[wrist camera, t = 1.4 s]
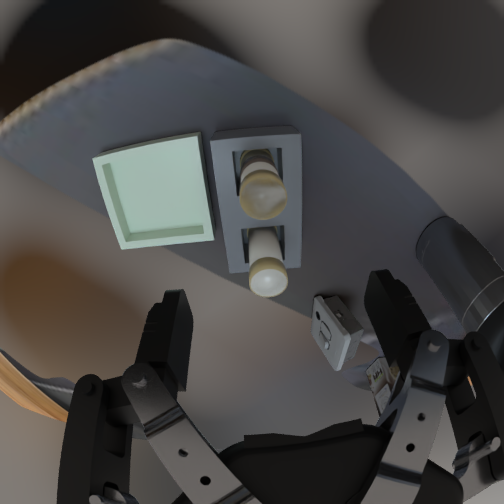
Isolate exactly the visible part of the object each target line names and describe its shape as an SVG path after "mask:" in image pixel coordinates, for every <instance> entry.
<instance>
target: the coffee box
mask: <svg viewBox="0 0 504 504" xmlns="http://www.w3.org/2000/svg"><path fill="white" fill-rule="evenodd" d="M399 371H400V370H399V367H398V366H395V367H391V368H389V366H388V363H387V361H386V358H385V357H383V358H378V359H377V360H376V361H375V362H374V363H373V364H372V365H371V366H370V367H369V368H368V369H367V370H366V374H367V377H368V380H369V383H370V386H371V390H372V393H373V396H374V399H375V403H376V406H377V410H378V413H379V417H380V416H381V414H382V413H383V411H384V409H385V407H386V404H387V402H388V399H389V397H390V394H391V391H392V389H393V386H394V383H395V380H396V377H397V375H398V372H399Z"/></svg>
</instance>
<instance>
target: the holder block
mask: <svg viewBox="0 0 504 504" xmlns="http://www.w3.org/2000/svg"><path fill="white" fill-rule="evenodd" d="M210 145H211V153H212V160H213V167H214V174H215V181H216V188H217V195H218V201H219V208H220V215H221V221H222V228H223V234H224V240H225V246H226V252H227V259H228V265H229V271H230V273H241V272H249V268H250V265H249V244H248V236H247V228H257V227H269V226H276V227H277V236H278V241H279V245H280V250H281V255H282V259H283V264H284V265H285V268H297V267H301V241H302V143H301V133H299V132H298V131H297V130H296V129H295V128H294V127H292V126H272V127H257V128H245V129H234V130H225V131H217V132H215V133H214V135H213V136H212V138H211V140H210ZM254 149H268V150H269V151H270V153H271V155H272V157H273V159H274V164H275V166H276V168H277V171H278V173H279V177H280V178H281V180H282V182H283V184H284V187H285V189H286V192H287V203H286V206H285V208H284V209H283V211H282V212H281V213H280V214H278V215H277V216H275V217H273V218H271V219H266V220H259V219H255V218H252V217H250V216H249V215H247V214H246V213H245V212H244V210H243V209H242V207H241V204H240V185H241V182H240V171H241V169H240V157H241V154H242V152H243V151H244V150H254Z"/></svg>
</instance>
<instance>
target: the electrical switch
mask: <svg viewBox="0 0 504 504" xmlns="http://www.w3.org/2000/svg"><path fill="white" fill-rule="evenodd" d="M337 310H339V311H337ZM339 313H341V314H342V315H343V316H341V315H340V314H339ZM361 329H362V330H361ZM359 330H360V331H359ZM363 330H364V329H363V327H362V326H361V325H360V323H359V322H358V321H357V320H356V318H355V317H354V316H353V315H352V313H351V312H350V311H349V310H348V308H347V307H346V306H345V305H344V303H343V302H342V301H341V300H340V298H339V297H338V296H337V295H336V296H333V297H330V298H326V299H323V298H322V297H321V296H317V297H315V298H314V305H313V315H312V325H311V333H312V336H313V337H314V339H315V341H316V342H317V344H318V345H319V347H320V348H321V350H322V351H323V353H324V354H325V356H326V358H327V359H328V361H329V363H330V364H331V366H332V367H333V369H334V370H335V371H337V370H340V369H341V367H342V364H343V363H345V362H346V361H347V360H350V359H352V358H354V356H355V353H356V350H357V348H358V345H359V342H360V339H361V336H362V333H363Z"/></svg>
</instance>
